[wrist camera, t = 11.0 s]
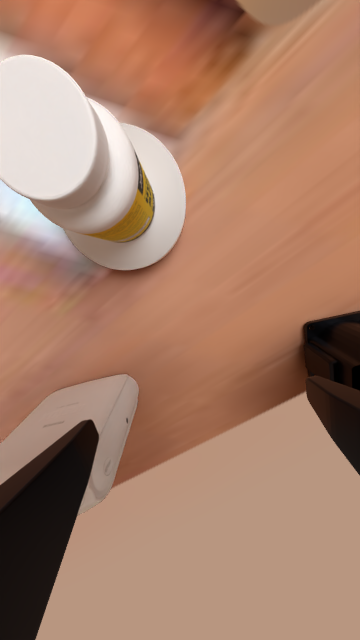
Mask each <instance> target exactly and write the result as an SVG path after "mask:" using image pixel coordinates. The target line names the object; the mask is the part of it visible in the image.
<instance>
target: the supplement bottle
mask: <svg viewBox="0 0 360 640" xmlns="http://www.w3.org/2000/svg"><path fill="white" fill-rule="evenodd" d="M0 179H1V180H2V181H3V182H4V183H5V184H6V185H7V186H8V187H10V188H11V189H12V190H14V191H15V192H17V193H18V194H20V195H22V196H24V197H26V198H29V199H30V200H31V202H32V203H33V204H34V206H35V207H36V208H37V209H38V210H39V211H40V212H41V213H42V214H43V215H44V216H45V217H46V218H48V219H49V220H50V221H52V222H53V223H55V224H56V225H58V226H60V227H62V228H65V229H67V230H70V231H73V232H76V233H79V234H84V235H88V236H91V237H95V238H99V239H103V240H107V241H111V242H117V243H127V242H131V241H134V240H136V239H138V238H140V237H141V236H142V235H143V234H144V233H145V232H146V231H147V230H148V229H149V227H150V225H151V224H152V221H153V218H154V215H155V198H154V193H153V190H152V187H151V185H150V183H149V180H148V178H147V176H146V174H145V172H144V170H143V168H142V165H141V163H140V161H139V159H138V156H137V155H136V152H135V150H134V147H133V145H132V143H131V141H130V139H129V137H128V136H127V134H126V132H125V130H124V129H123V127H122V126H121V124H120V123H119V122H118V120H117V119H116V118H115V117H114V116H113V115H112V114H111V113H110V112H109V111H108V110H107V109H106V108H104V107H103V106H102V105H100V104H99V103H97V102H95V101H94V100H92V99H90V98H87V97H86V96H85V94H84V93H83V91H82V90H81V88H80V87H79V85H78V84H77V83H76V82H75V81H74V80H73V78H72V77H71V76H70V75H69V74H68V73H67V72H65V71H64V70H63V69H62V68H60V67H59V66H57V65H56V64H54V63H52V62H51V61H48V60H46V59H44V58H41V57H37V56H33V55H18V56H13V57H9V58H7V59H5V60H3V61H1V62H0Z"/></svg>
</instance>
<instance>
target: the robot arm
mask: <svg viewBox="0 0 360 640" xmlns="http://www.w3.org/2000/svg"><path fill="white" fill-rule="evenodd" d="M311 325H312V328H311V329H309V327H310V326H311ZM304 330H305V341H306V343H305V345H304V351H305V362H306V367H307V368H308V375H309V377H307V378H306V392H307V398H308V400H309V402H310V404H311V406H312V407H313V409H314V410H315V412H316V414H317V415H318V417H319V418H320V420H321V422H322V423H323V425H324V427H325V428H326V430H327V432H328V433H329V435H330V436H331V438H332V439H333V441H334V442H335V443H336V445H337V446H338V447H339V449H340V450H341V451H342V453H343V454H344V455H345V456H346V458H347V459H348V460H349V462H350V463H351V465H352V466H353V467H354V469H355V470H356V471H357V472H358V474H359V475H360V311H357V312H352V313H348V314H343V315H338V316H334V317H329V318H324V319H320V320H315V321H310V322H307V323H306V324H305V326H304ZM314 375H316V376H314ZM98 442H99V434H98V431H97V429H96V426H95V424H94V422H93V420H91V419H88V420H83V421H81V422H80V423H78V424H77V425H76V426H75V427H73V428H72V429H71V430H69V431H68V432H67V433H66V434H64V435H63V436H62V437H61V438H59V439H58V440H57V441H55V442H54V443H53V444H52V445H50V446H49V447H48V448H47V449H45V450H44V451H43V452H42V453H40V454H39V455H38V456H36V457H35V458H34V459H33V460H31V461H30V462H29V463H28V464H26V465H25V466H24V467H22V468H21V469H20V470H19V471H17V472H16V473H15V474H14V475H12V476H11V477H10V478H9V479H7V480H6V481H5V482H3V483H2V484H1V485H0V640H35V639H36V636H37V633H38V630H39V627H40V624H41V621H42V618H43V615H44V612H45V609H46V606H47V604H48V600H49V597H50V594H51V592H52V589H53V586H54V583H55V580H56V577H57V574H58V571H59V568H60V565H61V562H62V559H63V556H64V553H65V550H66V547H67V544H68V541H69V538H70V535H71V532H72V529H73V526H74V523H75V520H76V517H77V514H78V511H79V509H80V506H81V503H82V500H83V497H84V494H85V491H86V488H87V485H88V482H89V478H90V475H91V471H92V467H93V463H94V458H95V454H96V450H97V446H98Z"/></svg>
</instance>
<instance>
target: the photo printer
mask: <svg viewBox="0 0 360 640" xmlns="http://www.w3.org/2000/svg"><path fill="white" fill-rule="evenodd" d="M138 395H139V387H138V384H137V382H136V381H135V380H134V379H133V378H132V377H130V376H128V374H121V375H114V376H110V377H105V378H101V379H96V380H92V381H88V382H85V383H81V384H77V385H74V386H70V387H67V388H63V389H60V390H58V391H55V392H53V393H52V394H50V395H49V396H47V397H46V398H45V399H44V400H43V401H42V402H41V403H40V404H39V405H38V406H37V407H36V408H35V409H34V410H33V411H32V412H31V413H30V414H29V415H28V416H27V417H26V418H25V419H24V420H23V421H22V422H21V423H20V424H19V425H18V426H17V427H16V428H15V429H14V430H13V431H12V432H11V433H10V434H9V435H8V436H7V437H6V438H5V440H4V441H3V442H2V443H1V444H0V485H1V484H2V483H3V482H5V481H6V480H7V479H9V478H10V477H11V476H12V475H14V474H15V473H16V472H17V471H19V470H20V469H21V468H22V467H24V466H25V465H26V464H28V463H29V462H30V461H31V460H33V459H34V458H35V457H36V456H38V455H39V454H40V453H42V452H43V451H44V450H45V449H47V448H48V447H49V446H50V445H52V444H53V443H54V442H55V441H57V440H58V439H59V438H61V437H62V436H63V435H64V434H66V433H67V432H68V431H69V430H71V429H72V428H73V427H75V426H76V425H77V424H78V423H80V422H81V421H83V420H88V419H91V420H93V422H94V424H95V426H96V429H97V431H98V434H99V442H98V446H97V450H96V454H95V458H94V463H93V467H92V471H91V475H90V478H89V482H88V485H87V488H86V491H85V494H84V497H83V500H82V503H81V506H80V509H79V511H78V514H77V516H78V515H80V514H82V513H84V512H86V511H87V510H89V509H91V508H92V507H94V506H96V505H97V504H98V503H100V502H101V501H102V500H103V499H105V497H106V496H107V495H108V493H109V492H110V490H111V487H112V485H113V482H114V478H115V475H116V472H117V468H118V465H119V462H120V459H121V456H122V452H123V449H124V446H125V443H126V440H127V436H128V433H129V430H130V427H131V424H132V420H133V417H134V414H135V411H136V408H137V405H138V399H137V398H138Z"/></svg>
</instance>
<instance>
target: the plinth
mask: <svg viewBox="0 0 360 640" xmlns="http://www.w3.org/2000/svg"><path fill="white" fill-rule="evenodd" d="M120 124H121V126H122V127H123V129H124V130H125V132H126V134H127V136H128V137H129V139H130V141H131V143H132V145H133V147H134V150H135V152H136V155H137V156H138V159H139V161H140V163H141V165H142V168H143V170H144V172H145V174H146V176H147V178H148V180H149V183H150V185H151V187H152V190H153V193H154V198H155V215H154V218H153V221H152V224H151V225H150V227H149V229H148V230H147V231H146V232H145V233H144V234H143V235H142V236H141V237H140V238H138V239H136V240H134V241H131V242H127V243H117V242H111V241H107V240H103V239H99V238H95V237H91V236H88V235H84V234H79V233H76V232H73V231H70V230H67V229H65V228H63V229H64V231H65V233H66V235H67V236H68V238H69V239H70V241H71V242H72V243H73V245H74V246H75V247H76V248H77V249H78V250H79V251H80V252H81V253H82V254H84V255H85V256H86V257H87V258H89V259H90V260H92V261H93V262H95V263H97V264H99V265H102V266H104V267H107V268H111V269H115V270H134V269H139V268H143V267H147V266H150V265H152V264H154V263H156V262H158V261H160V260H161V259H163V258H164V257H165V256H166V255H167V254H168V253H169V252H170V251H171V250H172V249H173V248H174V246H175V245H176V243H177V242H178V239H179V237H180V235H181V233H182V230H183V227H184V222H185V215H186V194H185V188H184V183H183V179H182V175H181V173H180V170H179V168H178V165H177V163H176V162H175V160H174V158H173V156H172V155H171V154H170V152H169V151H168V149H167V148H166V147H165V146H164V145H163V144H162V143H161V142H160V141H159V140H158V139H157V138H155V137H154V136H153V135H152V134H150V133H148V132H147V131H145V130H143V129H141V128H139V127H136V126H133V125H129V124H125V123H120Z"/></svg>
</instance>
